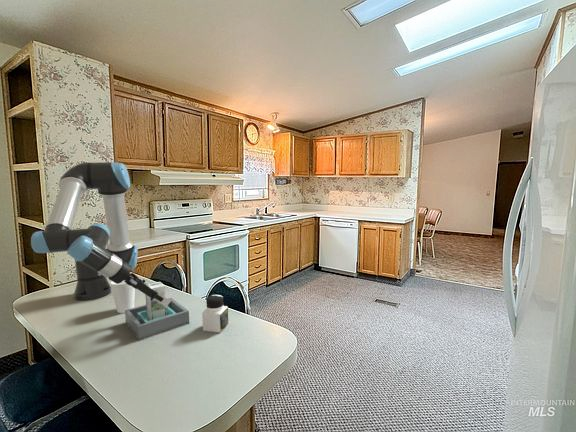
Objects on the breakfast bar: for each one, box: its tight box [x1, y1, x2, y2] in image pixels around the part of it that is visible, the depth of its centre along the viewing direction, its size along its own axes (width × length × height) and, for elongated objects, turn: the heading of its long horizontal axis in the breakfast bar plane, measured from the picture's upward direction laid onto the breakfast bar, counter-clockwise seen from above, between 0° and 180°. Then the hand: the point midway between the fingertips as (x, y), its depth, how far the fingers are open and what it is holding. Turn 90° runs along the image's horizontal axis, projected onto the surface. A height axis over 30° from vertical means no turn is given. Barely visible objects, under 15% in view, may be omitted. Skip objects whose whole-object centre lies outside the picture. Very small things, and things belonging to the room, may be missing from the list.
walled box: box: [124, 297, 190, 341], centre depth 116 cm, size 18×18×5 cm
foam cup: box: [109, 280, 136, 314], centre depth 128 cm, size 10×9×13 cm
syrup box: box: [144, 281, 167, 321], centre depth 115 cm, size 6×6×14 cm
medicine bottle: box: [201, 294, 229, 334], centre depth 111 cm, size 7×7×12 cm
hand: (162, 298), depth 117 cm, fingers open, 13 cm apart
